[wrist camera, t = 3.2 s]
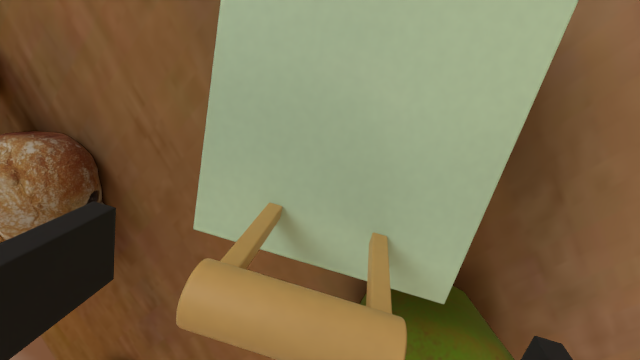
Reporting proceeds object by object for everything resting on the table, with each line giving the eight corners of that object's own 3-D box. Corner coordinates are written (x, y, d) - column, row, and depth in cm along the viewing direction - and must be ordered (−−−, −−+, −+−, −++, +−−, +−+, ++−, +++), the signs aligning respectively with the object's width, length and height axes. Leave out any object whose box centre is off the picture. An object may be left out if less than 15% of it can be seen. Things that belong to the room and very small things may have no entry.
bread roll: (115, 222, 35) (89, 270, 28) (-8, 213, 32) (-73, 265, 25) (119, 131, 32) (91, 159, 25) (-18, 110, 29) (-96, 136, 21)
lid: (441, 294, 17) (498, 490, 9) (200, 222, 18) (60, 341, 10) (615, -107, 11) (1169, -525, 3) (251, -178, 12) (27, -627, 4)
